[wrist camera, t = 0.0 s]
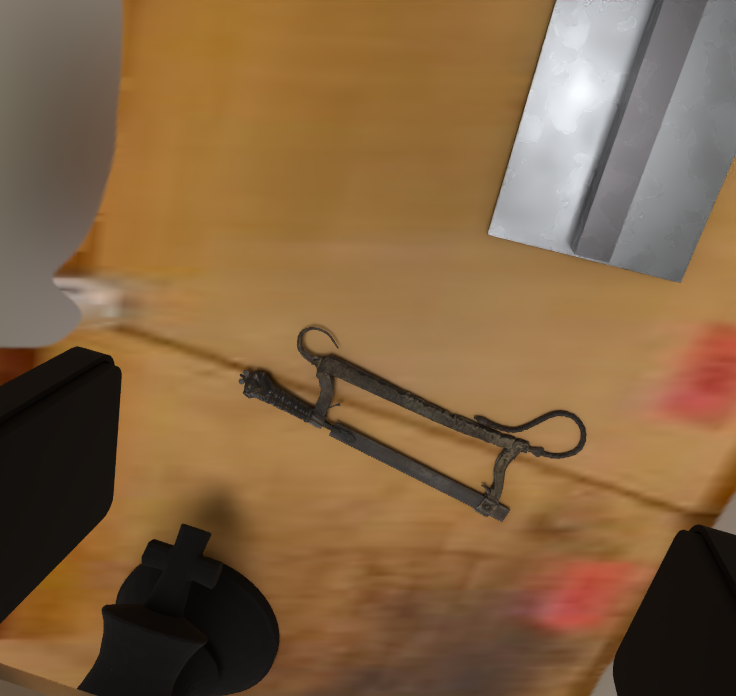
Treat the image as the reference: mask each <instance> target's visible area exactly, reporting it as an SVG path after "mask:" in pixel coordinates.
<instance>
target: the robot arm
mask: <svg viewBox="0 0 736 696" xmlns="http://www.w3.org/2000/svg"><path fill="white" fill-rule="evenodd" d="M121 379H122V373H121V369H120V368H119V367H118V366H115V365H114V361H113V358H112V357H111V356H110V355H106V354H103V353H99V352H96V351H93V350H89V349H86V348H82V347H78V346H77V347H73V348H71V349H69V350H67V351H65V352H64V353H62V354H60V355H58V356H56V357H54V358H52V359H50V360H49V361H47V362H45V363H43V364H41V365H39V366H37V367H35V368H34V369H32V370H30V371H28V372H26V373H24V374H22V375H20V376H19V377H17V378H15V379H13V380H11V381H9V382H7V383H5V384H4V385H2V386H0V623H1V622H2V621H3V620H4V619H5V618H6V617H7V616H8V615H9V614H10V613H11V612H12V611H13V610H14V609H15V608H16V607H17V606H18V605H19V604H20V603H21V602H22V601H23V600H24V599H25V598H26V597H27V596H28V595H29V594H30V593H31V592H32V591H33V590H34V589H35V588H36V587H37V586H38V585H39V584H40V583H41V582H42V581H43V580H44V579H45V577H46V576H47V575H48V574H49V573H50V572H51V571H52V570H53V569H54V568H55V567H56V566H57V565H58V564H59V563H60V562H61V561H62V560H63V559H64V558H65V557H66V556H67V555H68V554H69V553H70V552H71V551H72V550H73V549H74V548H75V547H76V546H77V545H78V544H79V543H80V542H81V541H82V540H83V539H84V538H85V537H86V536H87V535H88V534H89V533H90V532H91V531H92V530H93V528H94V527H95V526H96V525H97V524H98V523H99V522H100V521H101V520H102V519H103V518H104V517H105V516H106V514H107V512H108V511H109V509H110V506H111V504H112V501H113V494H114V479H115V465H116V451H117V436H118V422H119V408H120V393H121ZM613 678H614V683H615V687H616V691H617V696H736V535H734V534H730V533H727V532H723V531H720V530H717V529H713V528H710V527H706V526H703V525H699V524H698V525H695V526H693V527H692V528H691V529H690V530H689V531H686V530H681V531H679V532H678V533H677V535H676V536H675V538H674V540H673V542H672V544H671V546H670V548H669V550H668V551H667V553H666V555H665V557H664V559H663V561H662V563H661V565H660V567H659V569H658V571H657V573H656V575H655V577H654V579H653V581H652V583H651V585H650V587H649V589H648V591H647V593H646V595H645V597H644V599H643V601H642V603H641V605H640V607H639V609H638V611H637V613H636V615H635V617H634V619H633V621H632V623H631V625H630V627H629V629H628V631H627V633H626V635H625V637H624V638H623V640H622V642H621V644H620V646H619V648H618V650H617V653H616V655H615V659H614V664H613ZM0 696H96V695H93V694H90V693H87V692H84V691H81V690H78V689H75V688H72V687H69V686H66V685H63V684H60V683H57V682H54V681H51V680H48V679H45V678H42V677H39V676H36V675H34V674H31V673H28V672H25V671H22V670H19V669H16V668H13V667H10V666H7V665H4V664H1V663H0Z"/></svg>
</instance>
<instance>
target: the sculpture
mask: <svg viewBox="0 0 736 696" xmlns="http://www.w3.org/2000/svg"><path fill="white" fill-rule="evenodd" d="M210 536H211V533H210V532H207V531H204V530H201V529H198V528H195V527H192V526H189V525H186V524H182V525H181V527H180V530H179V533H178V536H177V539H176V542H175V544H174V545H170V544H167V543H165V542H162V541H159V540H156V539H153V540H151V541H150V542H149V543H148V545H147V547H146V549H145V551H144V553H143V555H142V564H140V565H139V566H138V567H136V568H135V569H134V571H133V572H132V573H131V574H130V575H129V576H128V578H127V579H126V580H125V581H124V583H123V584H122V586H121V588H120V590H119V592H118V595H117V599H116V604H112V605H105V606H104V607H103V608H102V615H103V620H104V633H103V638H102V643H101V648H100V653H99V656H98V658H97V660H96V662H95V664H94V666H93V667H92V669H91V670H90V672H89V673H88V674H87V676H86V677H85V679H84V680H83V682H82V683H81V684H80V685H79V687H78V688H77V689H78V690H81V691H84V692H87V693H90V694H93V695H96V696H222V695H229V694H233V693H237V692H241V691H244V690H247V689H249V688H251V687H252V686H254V685H256V684H257V683H258V682H260V681H261V680H262V679H263V678H264V677H265V676H266V675H267V673H268V672H269V670H270V668H271V666H272V664H273V661H274V659H275V656H276V653H277V651H278V646H279V629H278V623H277V621H276V618H275V615H274V613H273V611H272V609H271V607H270V605H269V603H268V601H267V600H266V598H265V597H264V596H263V595H262V593H261V592H260V591H259V590H258V589H257V588H256V587H255V586H254V585H253V584H252V583H251V582H250V581H249V580H248V579H246V578H245V577H244V576H243V575H241V574H240V573H238V572H237V571H235V570H234V569H232V568H230V567H228V566H226V565H224V564H223V563H222V562H219V561H216V560H214V559H211V558H208V557H205V556H203V551H204V549H205V547H206V545H207V543H208V541H209V539H210Z"/></svg>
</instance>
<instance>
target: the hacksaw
mask: <svg viewBox="0 0 736 696" xmlns="http://www.w3.org/2000/svg"><path fill="white" fill-rule="evenodd" d="M309 330H319V331H322V332H324V333H326V334H327V335H328V336H329V337H330V338H331V340H332V341H333V342H334V344H335V345H336V347H337V348H338V346H337V344H336V343H335V341H334V339H333V338H332V336H331V335H330V334H329V333H328V332H326V331H324V330H322V329H320V328H316V327H309V328H306V329H304V330H302V331H301V332H300V333H299V335H298V340H297V348H298V351H299V352H300V354H301V355H302V356H303V357H304V358H305V359H306V360H308V361H309V362H311V363H312V364H311V365H316V367H317V374H316V377H317V378H318V379H319V383H320V385H319V386H321V392H320V397H319V400H318V402H317V404H316V406H315V408H313V407H309V406H308V405H306V404H304V403H303V402H301V401H299V400H298V399H297V398H294V397H292V396H291V395H289V394H287V393H286V392H284V391H282V390H281V389H279V388H277V387H276V386H275V385H274V384H273V383H272V382H271V380H270V378H269V377H268V375H267V374H266V373H265V372H260V371H258V370H256V371H254V372H253V373H252V374H251V376H249V371H248V370H244V372H243V373H244V375H245V376H244V375H242V374H240V376H241V377H242V378H244V379H239V383H240V384H244V383H245V385H244V391H243V394H244V395H245V396H246V397H248V398H257V399H259V400H261V401H264V402H266V403H268V404H272V405H273V406H276V407H277V408H279V409H281V410H283V411H286V412H288V413H290V414H291V415H294V416H296V417H298V418H299V419H303V420H304V422H308V423H310V424H312V425H313V426H315V427H317V428H320V429H321V428H322V426H323V427H325V428H327V429H329V430H331V432H330V434H329V436H331V437H333V438H336V439H338V440H339V441H341V442H343V443H346V444H348V445H349V446H351V447H353V448H356V449H358V450H359V451H361V452H363V453H366V455H367V454H368V455H369V456H371V457H373V458H376V459H378V460H379V461H381V462H383V463H386V464H388V465H389V466H391V467H393V468H396V469H398V470H399V471H401V472H403V473H406V474H407V475H409V476H411V477H413V478H416V479H418V480H419V481H421V482H423V483H426V484H428V485H429V486H431V487H433V488H435V489H438V490H439V491H441V492H443V493H446V494H448V495H449V496H451V497H453V498H455V499H458V500H459V501H461V502H463V503H465V504H468V506H469V505H470V506H471V507H473V508H474V511H476V512H478V513H480V514H482V515H483V516H485V517H488V516H489V515H490V516H491V517H493V518H495V519H497V520H500V521H501V522H503V520H504V519H505V517H506V516H507V514H508V513H509V511H510V509H509V508H507V507H505V506H503V505H501V504H499V502H498V501H499V500H498V499H499V498H500V497H501V493H502V489H503V483H504V475H505V470H506V468H507V466H508V465H509V463H510V462H511V461H512V460H513V459H514V460H515V458H516V456H517V455H518V454H519V453H520V452H524V453H527V451H528V452H531V453H532V454H534V455H535V456H536V457H540V456H541V455H542V456H544V457H549V458H556V459H560V458H565V457H570V456H573V455H576V454H577V453H578V452H579V451H581V450H582V449H583V446H584V444H585V442H586V430H585V427H584V425H583V423H582V422H581V421H580V419H579V418H578V417H577V416H576V415H575V414H572V413H569V412H567V411H553V412H551V413H548V414H546V415H544V416H541V417H539V418H538V419H535V420H534V421H532V422H530V423H528V424H526V425H523V426H520V427H518V428H509V427H504V426H500V425H498V424H495V423H493V422H490V421H488V420H487V419H486V418H484V417H474V419H476V420H477V422H478V423H480V424H482V425H480V424H478V423H476V422H473V421H471V420H469V419H466V418H464V417H461V416H457V414H455V415H451V414H450V413H449V412H448V411H447V410H443V409H442V408H440V407H438V406H436V405H433V404H431V403H427V402H425V401H424V400H423V399H421V398H419V397H416V396H414V395H412V394H410V392H404V391H402V390H400V389H399V388H398V387H396V386H393V385H391V384H390V383H388V382H386V381H384V380H381V379H379V378H377V377H375V376H373V375H371V374H369V373H367V372H365V371H363V370H361V369H359V368H357V367H355V366H353V365H351V364H349V363H347V362H345V361H343V360H341V359H339V358H337V357H335V356H332V355H329V356H326V357H317V356H316V355H315V357H313V356H311V355H310V354H309V353H308V352H306V351H305V350H304V348H303V346H302V337H303V335H304V333H305V332H307V331H309ZM332 375H333V376H335V377H338V378H340V379H342V380H345V381H347V382H349V383H351V384H353V385H355V386H357V387H360V388H362V389H364V390H367V391H369V392H371V393H373V394H375V395H377V396H380V397H382V398H384V399H386V400H389V401H391V402H393V403H395V404H398V405H400V406H402V407H404V408H406V409H408V410H411V411H413V412H415V413H417V414H420V415H422V416H423V417H426V418H428V419H430V420H432V421H435V422H437V423H440V424H442V425H444V426H447V427H449V428H452V429H454V430H456V431H458V432H461V433H464V434H466V435H469V436H472V437H475V438H479V439H481V440H483V441H485V442H487V443H493V444H494V445H495V444H496V445H497V446H499V447H504V451H502V453H501V454H500V455H499V457H498V459H497V460H496V464H495V468H494V485H493V486H491V489H490V490H489V488H488V487H487V486H486V485H481V486H483V487H484V488H485V489H486V494H485V495H484V496H483V495H481V494H479V493H477V492H475V491H473V490H471V489H469V488H467V487H465V486H463V485H461V484H459V483H457V482H455V481H453V480H451V479H449V478H447V477H445V476H443V475H441V474H439V473H437V472H435V471H433V470H431V469H429V468H427V467H425V466H423V465H421V464H419V463H417V462H415V461H413V460H411V459H409V458H407V457H405V456H403V455H401V454H399V453H397V452H395V451H393V450H391V449H389V448H387V447H385V446H383V445H381V444H379V443H377V442H375V441H373V440H371V439H369V438H367V437H365V436H363V435H361V434H359V433H357V432H355V431H353V430H351V429H349V428H347V427H345V426H343V425H341V424H339V423H337V422H336V423H335V425H332V424H330V423H329V422H327V421H326V418H327V416H326V415H325V414H326V412H327V410H328V409H329V408H331V407H334V406H340V403H338V404H336V405H333V406H330V407H329V405H330V403H331V400H332V397H333V394H334V381H333V377H332ZM555 416H565V417H569V418H571V419H573V420H574V421H575V422H576V424H578V426H579V428H580V431H581V440H580V442H579V445H578V447H576V448H575V449H574V450H572V451H569V452H567V453H562V454H554V453H547V452H545V451H544V448H532V447H530V446H529V442H528V441H525V440H522V439H520V438H519V439H518V438H517V439H515V437H513V436H511V435H503V434H501V433H500V432H498V431H495V430H493V429H490V428H488V427H485V426H483V425H487V426H489V427H492V428H494V429H498V430H500V431H505V432H508V433H509V432H512V433H516V432H522V431H524V430H528V429H529V428H531V427H533V426H535V425H538V424H539V423H541V422H543V421H545V420H547V419H549V418H552V417H555Z"/></svg>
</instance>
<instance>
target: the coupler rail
mask: <svg viewBox="0 0 736 696" xmlns="http://www.w3.org/2000/svg"><path fill="white" fill-rule="evenodd" d="M735 154H736V0H556V1H555V4H554V7H553V11H552V14H551V18H550V21H549V25H548V28H547V31H546V35H545V38H544V42H543V45H542V48H541V52H540V55H539V59H538V62H537V66H536V69H535V72H534V76H533V79H532V83H531V86H530V90H529V93H528V96H527V100H526V103H525V107H524V110H523V113H522V117H521V120H520V124H519V127H518V131H517V134H516V137H515V141H514V144H513V148H512V151H511V154H510V158H509V161H508V165H507V168H506V172H505V175H504V178H503V182H502V185H501V189H500V192H499V196H498V199H497V202H496V206H495V209H494V213H493V216H492V219H491V223H490V226H489V230H488V235H492V236H496V237H500V238H504V239H508V240H512V241H516V242H520V243H524V244H528V245H531V246H535V247H539V248H543V249H547V250H551V251H555V252H559V253H563V254H567V255H571V256H575V257H579V258H583V259H587V260H591V261H595V262H599V263H603V264H607V265H611V266H615V267H619V268H623V269H627V270H631V271H635V272H639V273H643V274H647V275H651V276H655V277H659V278H663V279H667V280H671V281H675V282H679V283H681V281H682V278H683V276H684V274H685V271H686V269H687V266H688V264H689V262H690V259H691V257H692V255H693V252H694V250H695V248H696V245H697V243H698V241H699V238H700V236H701V234H702V231H703V229H704V227H705V224H706V222H707V220H708V217H709V215H710V213H711V210H712V208H713V206H714V203H715V201H716V198H717V196H718V194H719V191H720V189H721V187H722V184H723V182H724V180H725V177H726V175H727V173H728V170H729V168H730V166H731V163H732V161H733V159H734V156H735Z"/></svg>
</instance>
